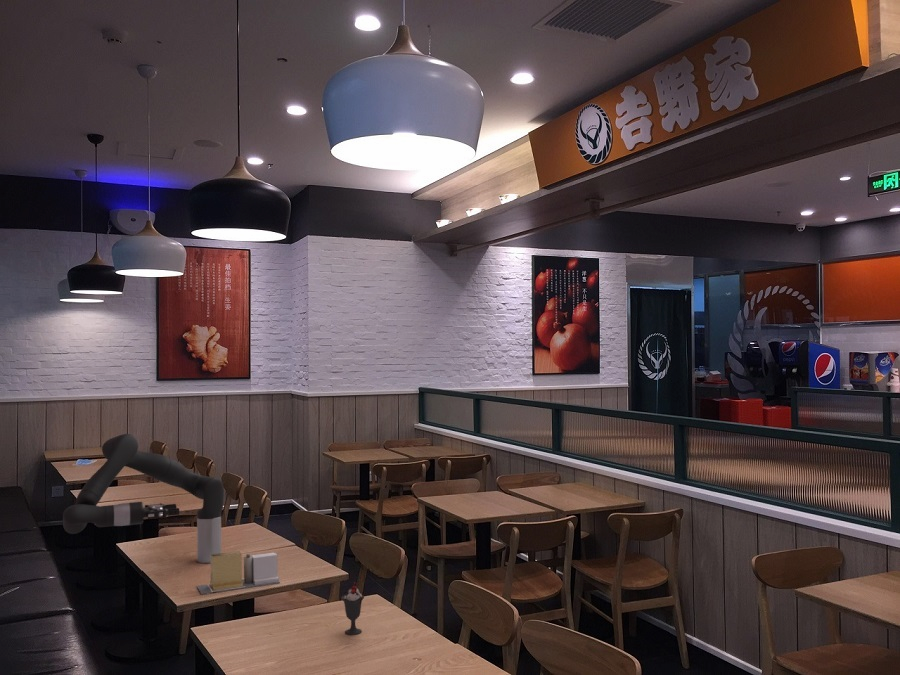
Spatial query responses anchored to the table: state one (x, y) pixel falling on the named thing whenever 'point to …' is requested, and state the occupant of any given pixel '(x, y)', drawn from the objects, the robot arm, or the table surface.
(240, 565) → the brass leaf
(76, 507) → the robot arm
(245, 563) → the hinge board
